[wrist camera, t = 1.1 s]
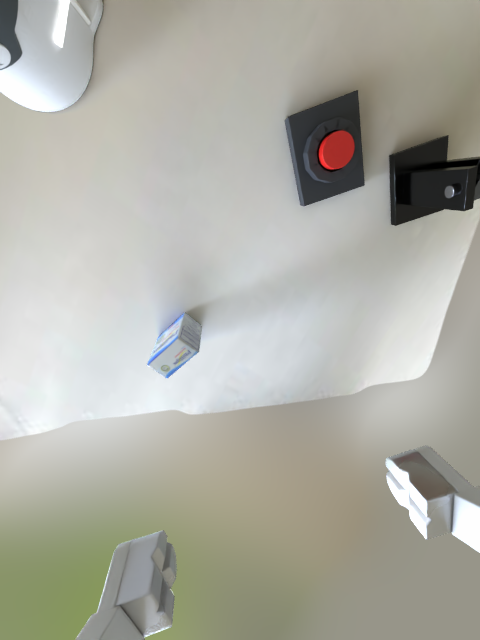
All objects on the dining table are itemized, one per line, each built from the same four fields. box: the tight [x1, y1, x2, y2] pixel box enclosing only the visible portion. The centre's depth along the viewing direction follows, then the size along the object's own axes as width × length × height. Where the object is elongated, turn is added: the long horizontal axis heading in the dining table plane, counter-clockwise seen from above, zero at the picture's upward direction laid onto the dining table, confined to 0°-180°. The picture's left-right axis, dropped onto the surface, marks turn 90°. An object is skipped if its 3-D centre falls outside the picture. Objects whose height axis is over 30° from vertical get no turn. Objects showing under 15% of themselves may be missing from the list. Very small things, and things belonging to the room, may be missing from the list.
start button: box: [318, 130, 355, 170], centre depth 32 cm, size 4×4×2 cm
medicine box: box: [147, 313, 202, 378], centre depth 45 cm, size 8×4×9 cm, turn 133°
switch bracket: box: [389, 135, 480, 226], centre depth 33 cm, size 10×8×12 cm
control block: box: [285, 90, 364, 206], centre depth 34 cm, size 11×9×4 cm
